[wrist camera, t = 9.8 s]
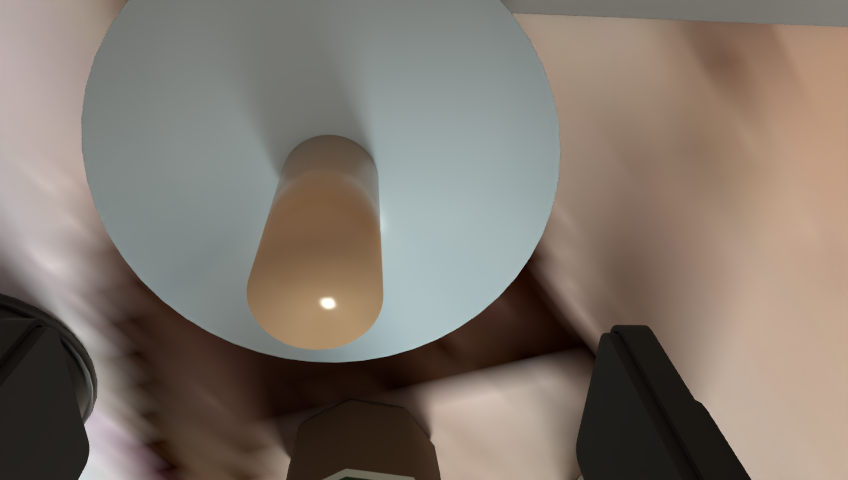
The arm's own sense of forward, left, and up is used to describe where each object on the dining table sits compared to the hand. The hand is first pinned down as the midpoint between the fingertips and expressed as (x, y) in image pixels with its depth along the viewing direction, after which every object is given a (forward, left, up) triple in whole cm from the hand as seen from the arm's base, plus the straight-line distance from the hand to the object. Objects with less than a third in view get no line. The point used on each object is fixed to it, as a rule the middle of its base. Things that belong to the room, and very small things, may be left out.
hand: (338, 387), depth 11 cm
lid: (+1, 0, -9) cm, 9 cm away
